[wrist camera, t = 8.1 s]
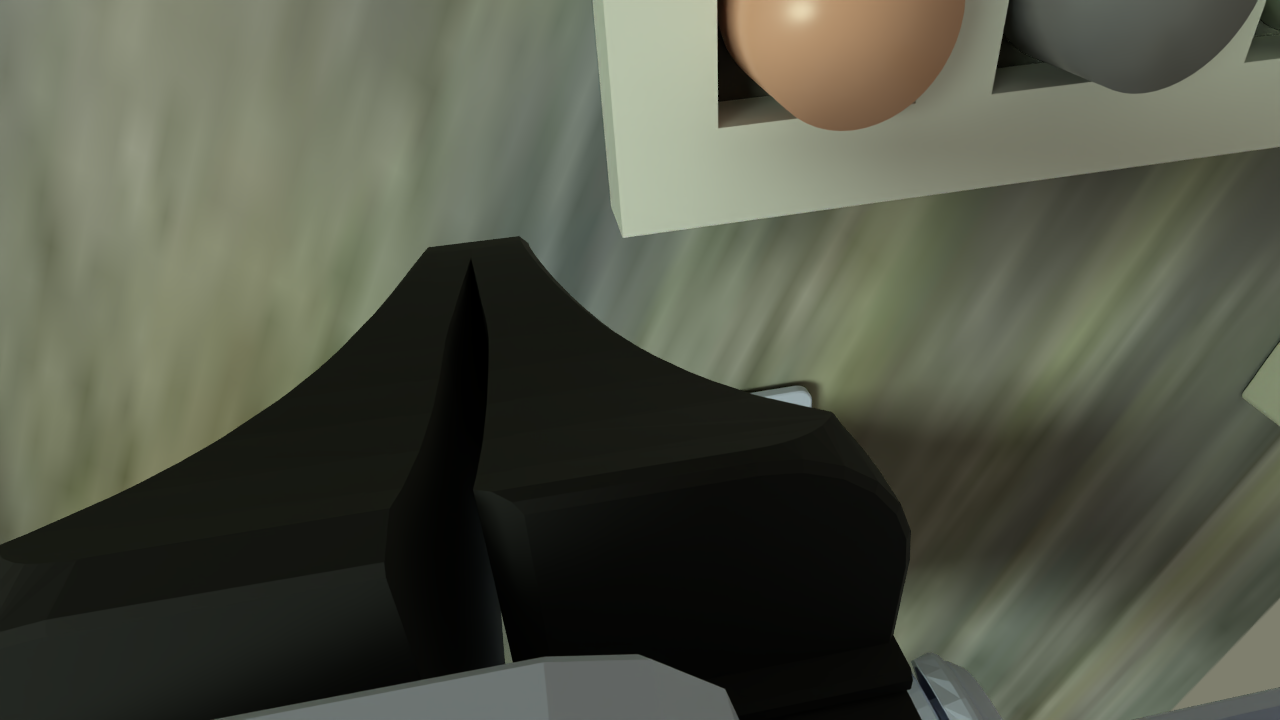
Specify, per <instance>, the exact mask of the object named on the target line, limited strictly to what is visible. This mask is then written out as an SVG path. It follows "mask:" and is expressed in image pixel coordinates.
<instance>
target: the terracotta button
mask: <svg viewBox="0 0 1280 720" xmlns="http://www.w3.org/2000/svg"><path fill="white" fill-rule="evenodd" d="M964 9H965V0H717V12H718V22H719V27H720V32H721V35H722V38H723V41H724V43H725V46H726V48H727V50H728V52H729V54H730V55H731V57H732V58H733V60H734V61H735V63H736V64H737V65H738V66H739V67H740V68H741V69H742V70H743V71H744V72H745V73H746V74H747V75H748V76H749V77H750V78H751V79H753V80H754V81H755V82H756V83H757V84H758V85H759V86H760V87H762V88H763V89H764V90H765V91H766V92H767V93H768V94H769V95H771V96H772V97H773V98H774V99H775V100H776V101H777V102H778V103H780V104H781V105H782V106H783V107H784V108H785V109H786V110H788V111H789V112H790V113H791V114H792V115H794V116H795V117H796V118H798V119H800V120H801V121H803V122H805V123H807V124H809V125H812V126H814V127H817V128H821V129H826V130H833V131H851V130H858V129H863V128H867V127H870V126H873V125H876V124H879V123H881V122H883V121H885V120H888V119H890V118H892V117H893V116H895V115H897V114H898V113H900V112H901V111H903V110H904V109H906V108H907V107H908V106H909V105H911V104H912V103H913V102H915V101H916V100H917V99H918V98H919V97H920V96H921V95H922V94H923V93H924V92H925V91H926V90H927V89H928V87H929V86H930V85H931V84H932V83H933V82H934V80H935V79H936V77H937V76H938V75H939V73H940V72H941V70H942V69H943V67H944V66H945V64H946V62H947V60H948V58H949V57H950V55H951V52H952V50H953V48H954V46H955V43H956V41H957V38H958V35H959V32H960V29H961V25H962V20H963V15H964Z"/></svg>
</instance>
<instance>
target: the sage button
mask: <svg viewBox="0 0 1280 720" xmlns="http://www.w3.org/2000/svg"><path fill="white" fill-rule="evenodd" d="M1260 19H1261V20H1262V21H1263V22H1264V23H1265V24H1267V25H1268V26H1270V27H1272V28H1274V29H1277V30H1280V0H1266V3H1265V6H1264V8H1263V11H1262V14H1261V17H1260Z"/></svg>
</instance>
